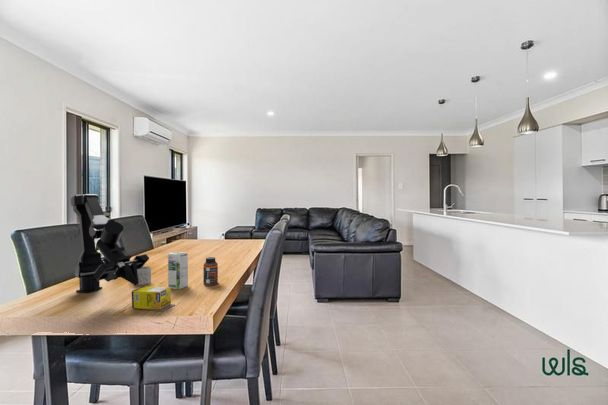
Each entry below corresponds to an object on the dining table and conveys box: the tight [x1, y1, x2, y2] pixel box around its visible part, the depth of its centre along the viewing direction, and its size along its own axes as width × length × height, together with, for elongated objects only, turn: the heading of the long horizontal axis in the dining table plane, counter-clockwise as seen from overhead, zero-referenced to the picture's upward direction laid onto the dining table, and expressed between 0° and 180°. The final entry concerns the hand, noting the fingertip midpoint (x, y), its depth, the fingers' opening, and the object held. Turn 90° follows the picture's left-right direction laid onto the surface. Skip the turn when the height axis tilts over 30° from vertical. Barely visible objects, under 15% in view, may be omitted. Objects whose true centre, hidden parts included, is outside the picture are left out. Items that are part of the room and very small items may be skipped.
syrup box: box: [167, 251, 189, 290], centre depth 132 cm, size 6×6×14 cm
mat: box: [137, 303, 176, 313], centre depth 109 cm, size 11×6×1 cm, turn 73°
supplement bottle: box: [202, 256, 219, 286], centre depth 137 cm, size 6×6×11 cm
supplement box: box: [131, 285, 172, 310], centre depth 109 cm, size 6×6×11 cm
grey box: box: [137, 265, 152, 286], centre depth 140 cm, size 10×7×7 cm
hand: (137, 284), depth 109 cm, fingers closed
